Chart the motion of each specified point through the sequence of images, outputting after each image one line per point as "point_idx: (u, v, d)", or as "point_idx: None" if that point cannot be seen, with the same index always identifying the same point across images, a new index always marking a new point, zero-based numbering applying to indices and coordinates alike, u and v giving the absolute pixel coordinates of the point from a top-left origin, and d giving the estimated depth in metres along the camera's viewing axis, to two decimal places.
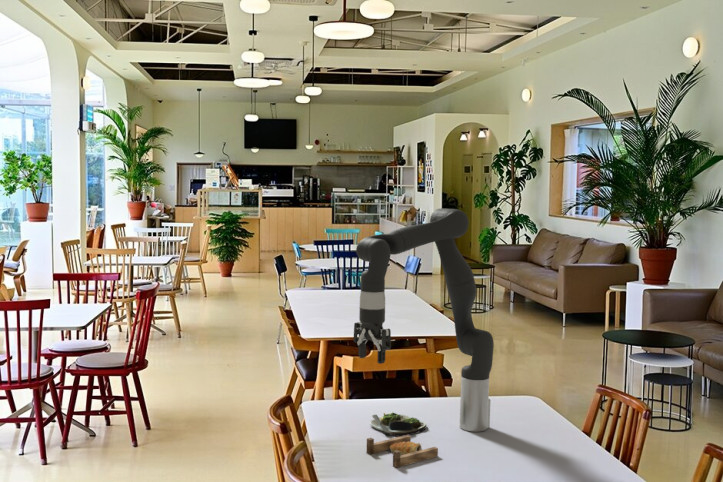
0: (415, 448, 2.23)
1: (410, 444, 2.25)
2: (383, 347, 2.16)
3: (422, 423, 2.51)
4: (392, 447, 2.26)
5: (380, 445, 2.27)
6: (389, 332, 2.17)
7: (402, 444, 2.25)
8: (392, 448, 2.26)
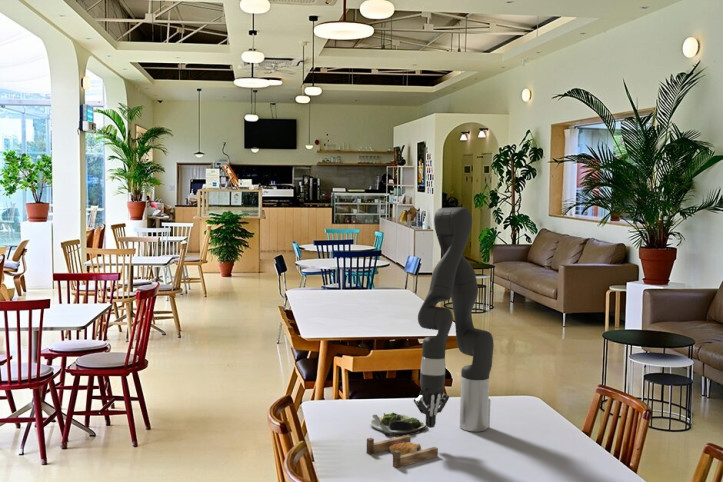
0: (415, 449, 2.22)
1: (410, 445, 2.24)
2: (440, 410, 2.32)
3: (422, 423, 2.51)
4: (392, 448, 2.25)
5: (380, 445, 2.27)
6: None
7: (402, 445, 2.25)
8: (392, 449, 2.25)
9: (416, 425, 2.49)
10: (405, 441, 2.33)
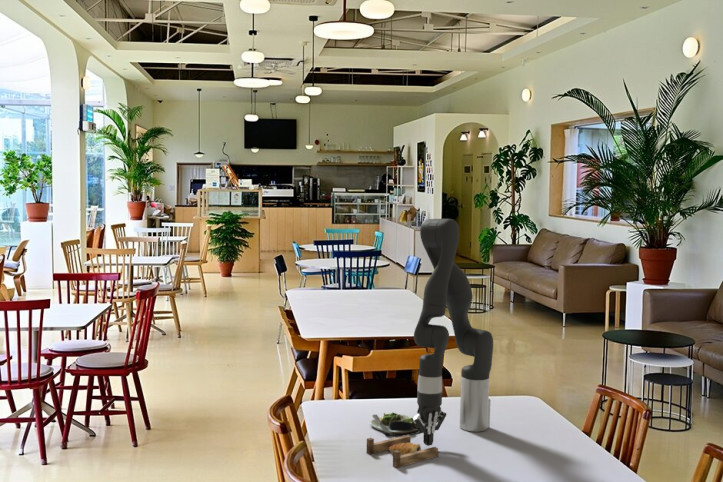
0: (415, 449, 2.22)
1: (410, 445, 2.24)
2: (438, 427, 2.31)
3: None
4: (392, 448, 2.25)
5: (380, 445, 2.27)
6: None
7: (402, 445, 2.24)
8: (392, 449, 2.25)
9: None
10: (405, 441, 2.33)
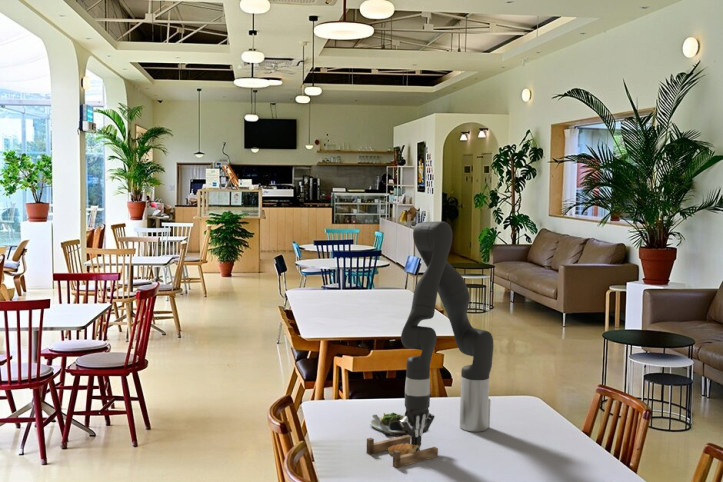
0: (414, 450, 2.21)
1: (409, 446, 2.23)
2: (426, 430, 2.29)
3: None
4: (390, 449, 2.24)
5: (380, 445, 2.27)
6: None
7: (400, 446, 2.24)
8: (390, 450, 2.24)
9: None
10: (405, 441, 2.33)
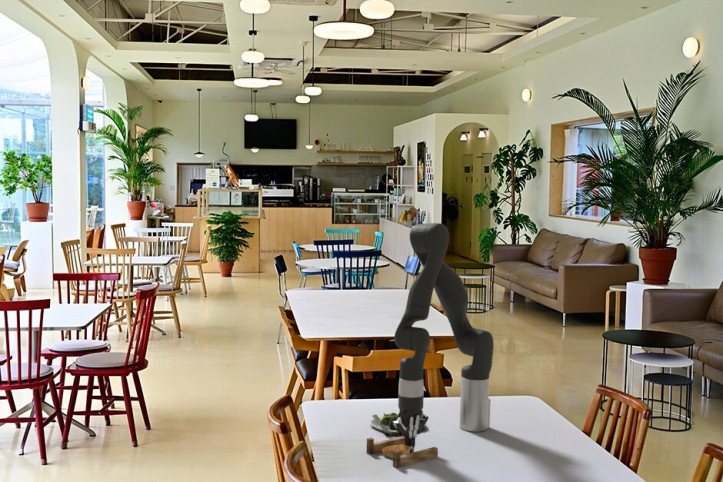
0: (408, 451, 2.20)
1: (402, 447, 2.22)
2: (420, 431, 2.27)
3: None
4: (384, 450, 2.23)
5: (380, 445, 2.27)
6: None
7: (394, 447, 2.22)
8: (384, 451, 2.23)
9: None
10: None
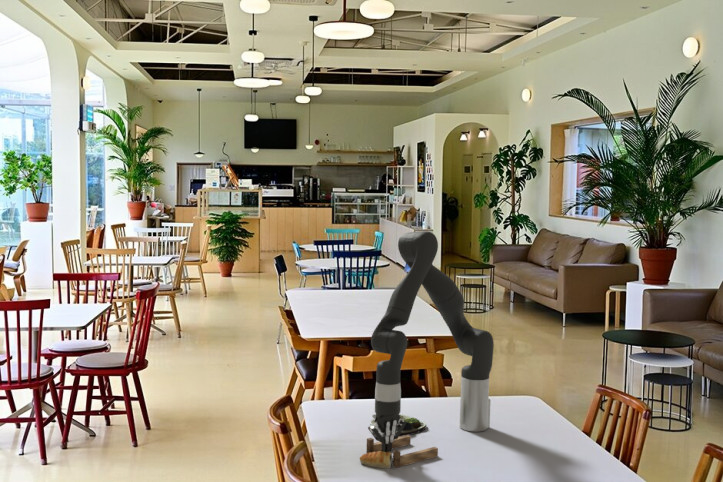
0: (388, 457, 2.15)
1: (382, 454, 2.16)
2: (397, 436, 2.22)
3: (422, 423, 2.51)
4: (363, 458, 2.16)
5: (380, 445, 2.27)
6: None
7: (374, 454, 2.16)
8: (363, 459, 2.16)
9: (416, 425, 2.49)
10: (405, 441, 2.33)
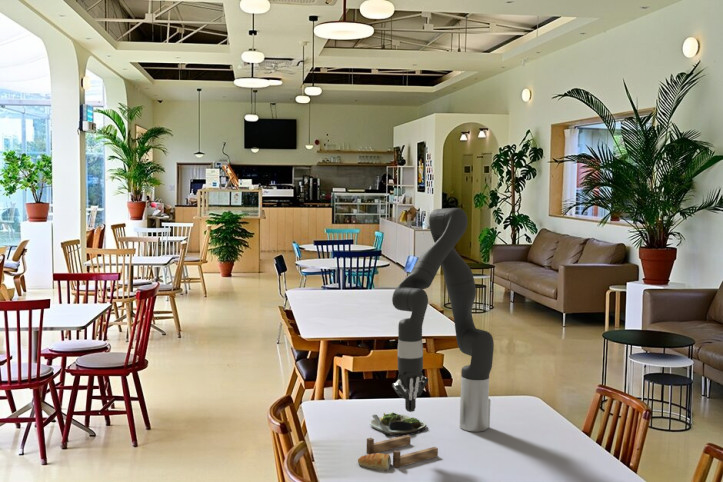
0: (387, 459, 2.13)
1: (380, 456, 2.15)
2: (420, 393, 2.25)
3: (422, 423, 2.51)
4: (361, 460, 2.15)
5: (380, 445, 2.27)
6: None
7: (372, 456, 2.15)
8: (361, 461, 2.15)
9: (416, 425, 2.49)
10: (405, 441, 2.33)
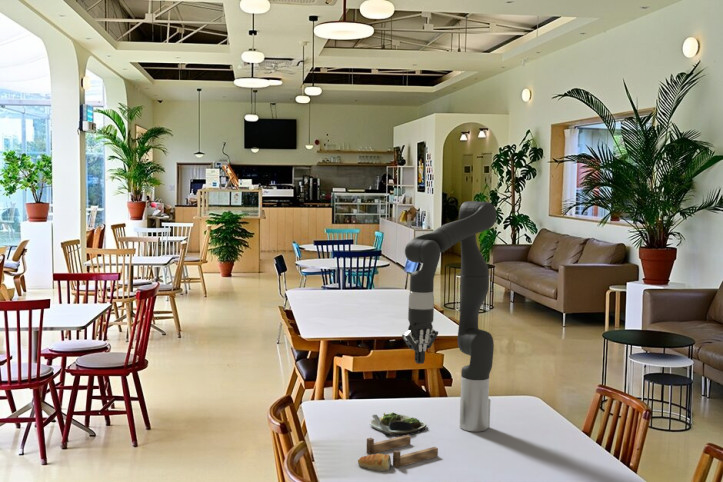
0: (387, 460, 2.13)
1: (381, 456, 2.14)
2: (429, 345, 2.27)
3: (422, 423, 2.51)
4: (361, 461, 2.14)
5: (380, 445, 2.27)
6: None
7: (372, 457, 2.14)
8: (361, 462, 2.14)
9: (416, 425, 2.49)
10: (405, 441, 2.33)
